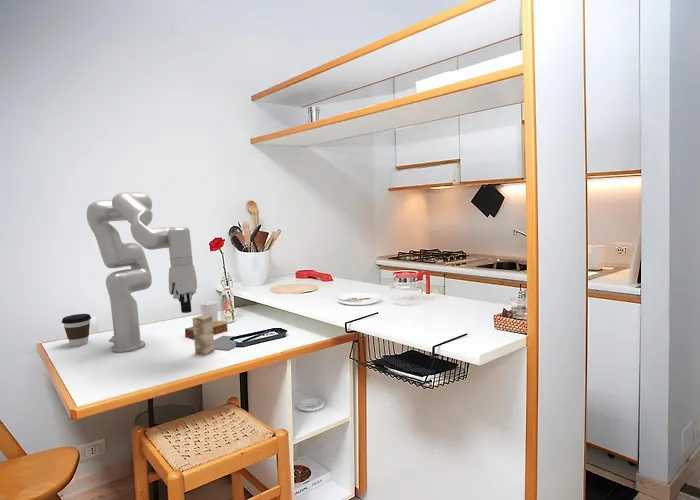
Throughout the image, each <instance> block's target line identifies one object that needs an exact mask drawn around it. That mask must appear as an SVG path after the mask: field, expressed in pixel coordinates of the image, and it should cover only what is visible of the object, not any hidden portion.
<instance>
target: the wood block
mask: <svg viewBox="0 0 700 500" xmlns="http://www.w3.org/2000/svg"><path fill="white" fill-rule="evenodd" d="M192 327H193V331H194V339H193V340H194V352H195V353H194V355H201V356H208V355H209V354H212V353H214V352H215V351H216V350H215V349H214V340H215V339H214V335H213V325H212V315H202V314H199V315H197V316H194V317H192Z"/></svg>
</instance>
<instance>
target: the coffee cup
mask: <svg viewBox="0 0 700 500" xmlns="http://www.w3.org/2000/svg"><path fill="white" fill-rule="evenodd" d="M90 320H92V316H91V315H90V314H88V313H78V314H71V315H68V316H67V315H66V316H65V317H62V319H61V322H60V323H61V324H63V326H64V327H63V328H64V330H65V334H66V337H67V340H68V343H69V345H70V347H82V346H85V345H88V342H89V336H90V329H91V328H90V327H91V325H90V324H91V323H90Z"/></svg>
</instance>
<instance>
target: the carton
mask: <svg viewBox="0 0 700 500" xmlns="http://www.w3.org/2000/svg"><path fill="white" fill-rule="evenodd" d="M212 325H213V336H215V335H220V334H223V333H227V332H228V329H229V328H228V323H227V322H225V321H222V320H218V321H213V322H212ZM184 336H185V338H188V339H191V340H194V331H193V326H190V327H187V328H184Z"/></svg>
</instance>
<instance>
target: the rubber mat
mask: <svg viewBox="0 0 700 500" xmlns="http://www.w3.org/2000/svg"><path fill="white" fill-rule="evenodd" d="M232 337H236V336H233V335H232V336H231V335H221V336H219V337H217V338H216V339H214V350H215V351H216V350H217V351H228V352H229V351H231V350H234V349H235V348H236V347H235V346H234V345H232V344H231V343H230V338H232Z"/></svg>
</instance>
